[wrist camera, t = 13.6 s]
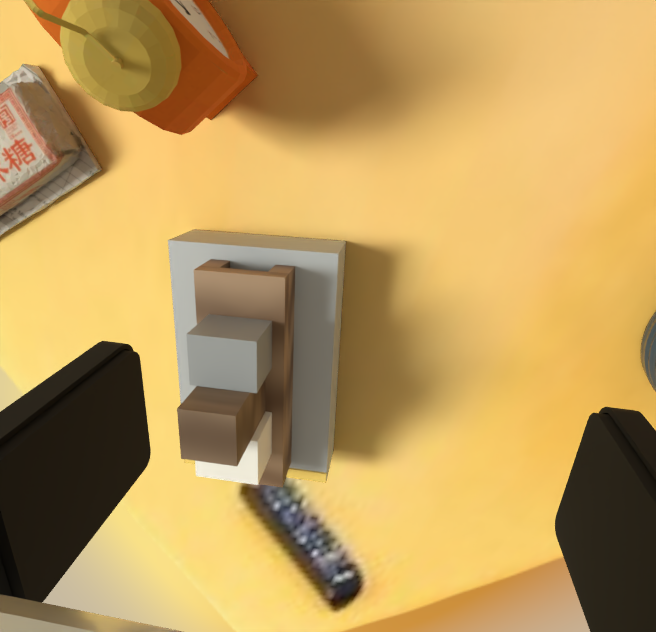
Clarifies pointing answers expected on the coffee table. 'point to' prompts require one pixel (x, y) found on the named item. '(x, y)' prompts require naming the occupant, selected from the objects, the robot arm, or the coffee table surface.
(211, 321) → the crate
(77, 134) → the packaged product
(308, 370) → the dock
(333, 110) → the coffee table surface
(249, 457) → the block
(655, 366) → the canister
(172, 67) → the alarm clock
